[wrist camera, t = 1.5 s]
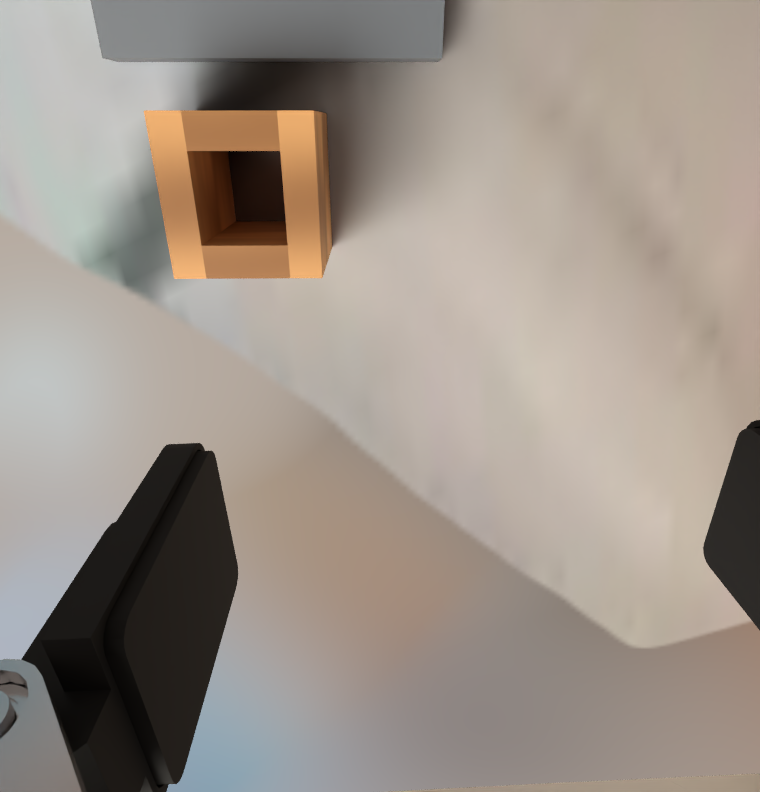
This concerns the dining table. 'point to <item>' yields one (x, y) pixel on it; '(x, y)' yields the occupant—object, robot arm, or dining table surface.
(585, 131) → the dining table surface
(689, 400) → the dining table surface
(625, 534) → the dining table surface
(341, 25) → the rod stand
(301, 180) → the cube
